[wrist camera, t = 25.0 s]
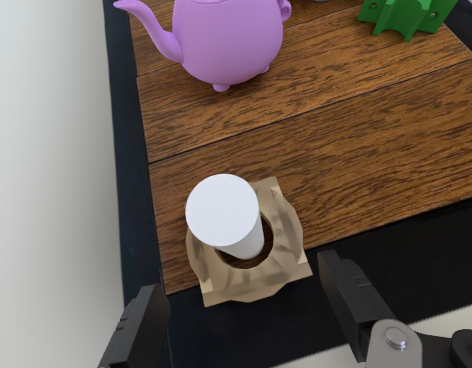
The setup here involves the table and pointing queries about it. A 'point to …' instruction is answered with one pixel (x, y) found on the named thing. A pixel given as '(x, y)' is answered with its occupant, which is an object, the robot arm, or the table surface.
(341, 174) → the table surface
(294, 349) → the table surface
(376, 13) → the pipe clamp
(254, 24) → the teapot
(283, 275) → the socket pad
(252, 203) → the tube
